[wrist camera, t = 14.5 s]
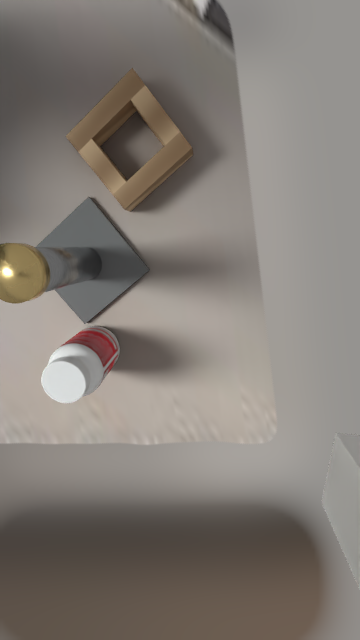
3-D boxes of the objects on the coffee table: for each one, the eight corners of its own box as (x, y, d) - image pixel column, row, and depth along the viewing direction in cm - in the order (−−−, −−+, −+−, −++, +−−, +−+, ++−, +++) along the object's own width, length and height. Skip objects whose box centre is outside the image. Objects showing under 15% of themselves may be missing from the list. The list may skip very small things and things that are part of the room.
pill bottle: (75, 323, 43) (32, 351, 32) (121, 326, 43) (92, 355, 32) (76, 367, 44) (35, 408, 34) (120, 370, 44) (93, 413, 33)
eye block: (76, 144, 38) (65, 136, 35) (138, 81, 36) (132, 67, 33) (130, 211, 39) (124, 209, 36) (193, 154, 37) (192, 147, 34)
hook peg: (68, 281, 41) (-15, 301, 26) (67, 243, 40) (-20, 241, 25) (104, 283, 41) (41, 305, 25) (104, 245, 40) (39, 245, 24)
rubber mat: (28, 256, 41) (25, 256, 41) (90, 197, 39) (88, 196, 38) (86, 322, 43) (84, 324, 42) (149, 269, 41) (148, 270, 40)
